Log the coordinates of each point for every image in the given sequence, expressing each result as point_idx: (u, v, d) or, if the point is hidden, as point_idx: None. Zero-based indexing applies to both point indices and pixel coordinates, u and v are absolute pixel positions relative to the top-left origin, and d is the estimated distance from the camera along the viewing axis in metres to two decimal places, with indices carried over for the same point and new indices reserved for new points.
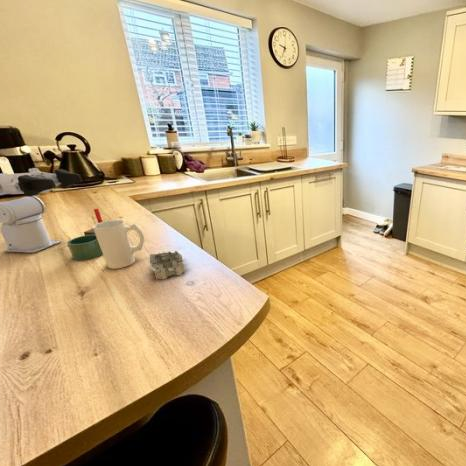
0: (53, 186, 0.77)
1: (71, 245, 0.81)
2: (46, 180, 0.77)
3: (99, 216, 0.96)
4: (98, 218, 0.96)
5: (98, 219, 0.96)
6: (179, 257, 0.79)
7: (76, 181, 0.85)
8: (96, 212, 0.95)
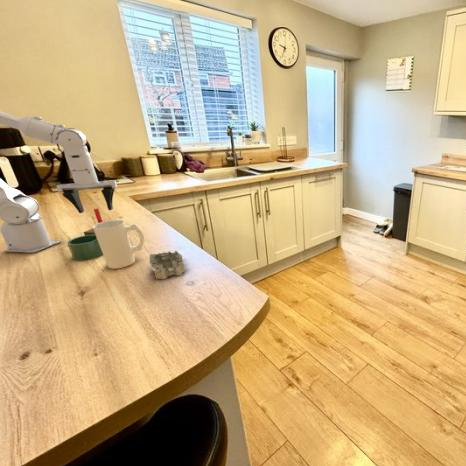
0: (111, 209, 0.96)
1: (71, 245, 0.81)
2: None
3: (99, 216, 0.96)
4: (98, 218, 0.96)
5: (98, 219, 0.96)
6: (179, 257, 0.79)
7: (80, 208, 0.93)
8: (96, 212, 0.95)
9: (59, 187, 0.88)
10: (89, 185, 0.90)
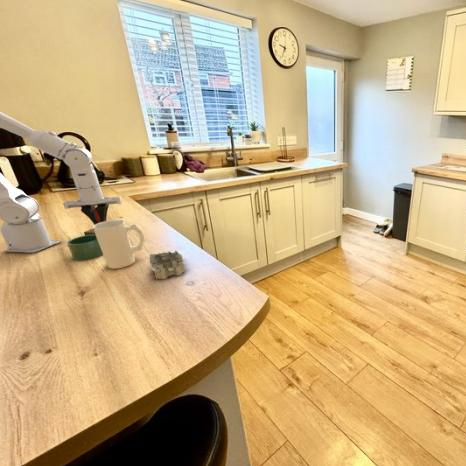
0: None
1: (71, 245, 0.81)
2: None
3: None
4: (98, 218, 0.96)
5: (98, 219, 0.96)
6: (179, 257, 0.79)
7: (97, 223, 0.96)
8: (96, 212, 0.95)
9: (65, 204, 0.90)
10: (95, 202, 0.92)
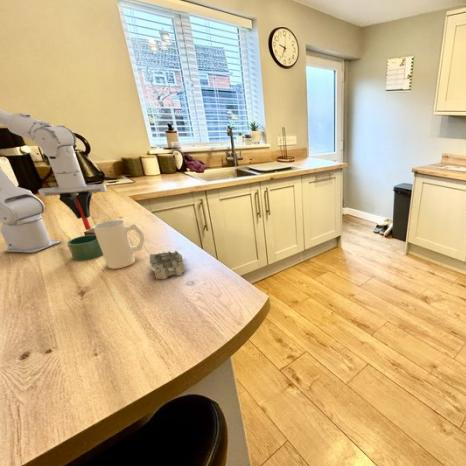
0: None
1: (71, 245, 0.81)
2: (89, 212, 0.87)
3: None
4: (79, 208, 0.85)
5: (80, 209, 0.85)
6: (179, 257, 0.79)
7: (78, 214, 0.85)
8: (77, 201, 0.84)
9: (41, 191, 0.79)
10: (75, 189, 0.81)
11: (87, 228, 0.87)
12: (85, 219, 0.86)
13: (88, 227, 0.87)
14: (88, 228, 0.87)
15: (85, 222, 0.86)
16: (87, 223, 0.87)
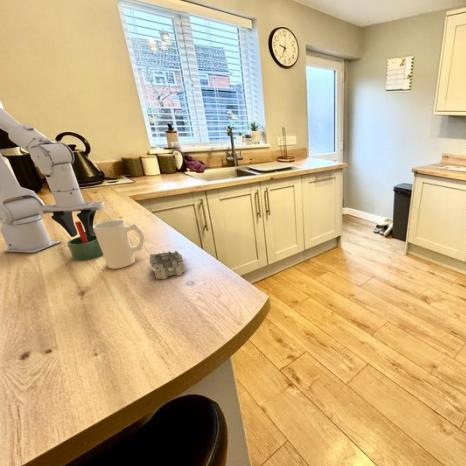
0: None
1: (71, 245, 0.81)
2: (92, 229, 0.85)
3: (81, 230, 0.83)
4: (80, 232, 0.83)
5: (80, 233, 0.83)
6: (179, 257, 0.79)
7: (72, 232, 0.82)
8: (78, 225, 0.82)
9: (40, 209, 0.78)
10: (71, 208, 0.78)
11: None
12: None
13: None
14: None
15: None
16: None
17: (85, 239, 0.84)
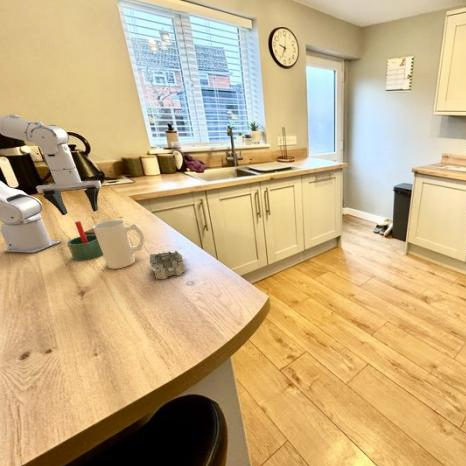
0: (96, 210, 0.91)
1: (71, 245, 0.81)
2: (97, 206, 0.93)
3: (81, 230, 0.83)
4: (80, 232, 0.83)
5: (80, 233, 0.83)
6: (179, 257, 0.79)
7: (63, 210, 0.88)
8: (77, 225, 0.82)
9: (39, 188, 0.84)
10: (71, 185, 0.85)
11: None
12: None
13: None
14: None
15: None
16: None
17: (85, 239, 0.84)
